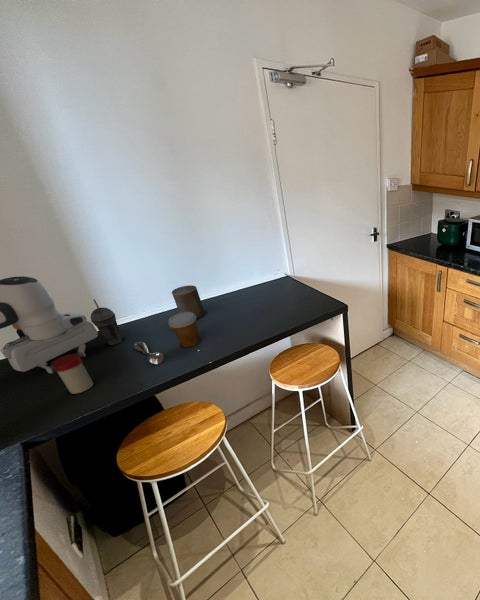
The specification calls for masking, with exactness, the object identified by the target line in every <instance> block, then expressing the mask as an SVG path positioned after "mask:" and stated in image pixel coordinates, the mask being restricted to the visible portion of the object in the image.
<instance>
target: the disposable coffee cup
mask: <svg viewBox="0 0 480 600" xmlns="http://www.w3.org/2000/svg"><path fill="white" fill-rule="evenodd" d="M196 318H197V317H196V315H194V313H191V312H184V313H179V312H178V313H176V314H174V315H172V316H171V317H169V318H168V323H167V325H168V326H169V327H170V328H171V330H172V331H173V333H174V335H175V337H176V338H177V340H178V341H179V343H180V345H181V346H182V347H183V348H190V347H194V346H196V345H197V344H199V343H200V341H201V340H200V335H199V328H198V324H197V323H198V322H197V319H196Z"/></svg>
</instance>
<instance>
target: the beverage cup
mask: <svg viewBox="0 0 480 600" xmlns="http://www.w3.org/2000/svg"><path fill="white" fill-rule="evenodd" d="M93 303H94V304H95V306H96V308H95V309H94V310H93V311H92V312H91V314H90V322H91V323H92V324H93V326H94V327H95V328H97V331H98V332H99V333H100V334H101V336H102V337H103V339H104V340H105V342H106V343H107V344H108V345H109V346H114V345H118V344H120V343H121V342H122V341H123V337H122V333H121V331H120V328H119V325H118V322H117V316H116V314H115V313H114V311H113V310H112V309H110V308H107V307H100V306H99V304H98V302H97V301H96V299H93Z"/></svg>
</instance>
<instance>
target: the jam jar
mask: <svg viewBox="0 0 480 600" xmlns="http://www.w3.org/2000/svg"><path fill="white" fill-rule="evenodd" d="M56 373H57V375H58V377H59V378H60V379H61V381H62V382H63V384H64V386H65V387H66V389H67V390H68V392H69V393H70V394H74V395H76V394H81V393H84V392H85V391H88V390H90V389H91V388H92V387H93V386H94V384H95V383H94V381H93V379H92V377H91V376H90V374H89V372H88V370H87V369H86V366H85V365H84V364H83V361H82V362H81V363H80V364H79V365H77V366H75V367H73V368H71V369H68V370H64V371H56Z"/></svg>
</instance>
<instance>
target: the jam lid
mask: <svg viewBox="0 0 480 600" xmlns="http://www.w3.org/2000/svg"><path fill="white" fill-rule="evenodd" d="M81 362H82V363H83V358H81V357H80V356H79V355H78V354H70V355H66V356H63V357H60V358H58V359H56V360H55V361H53V362H52V363H51V366H55V368H56V369H57V371H64V370H68V369H71V368H73V367H75V366H77V365H79V364H80V363H81ZM57 371H56V372H57Z"/></svg>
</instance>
